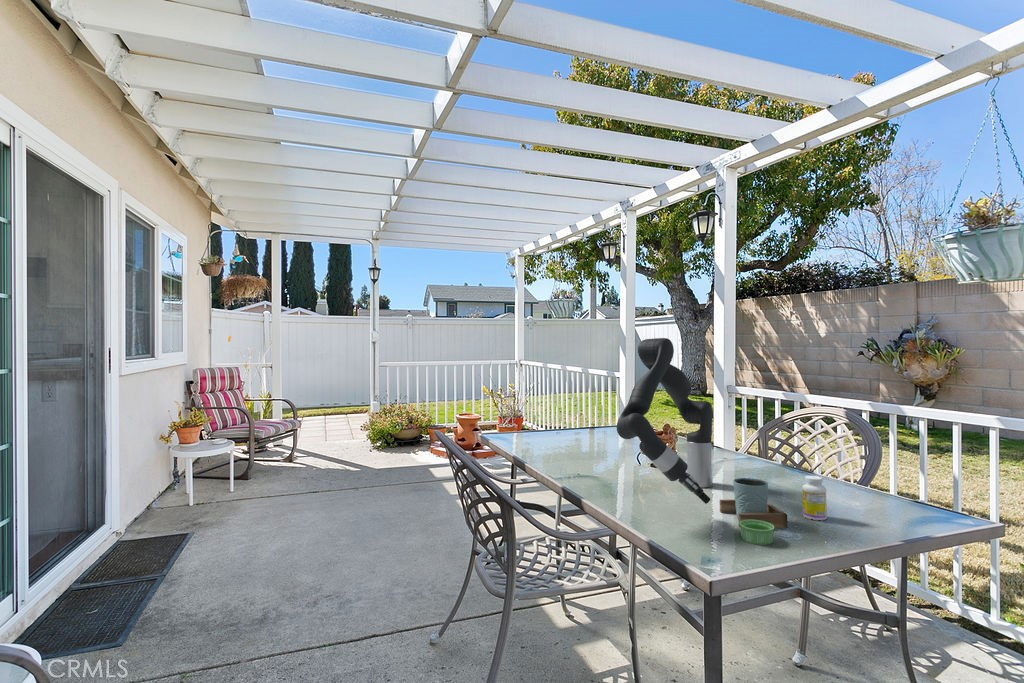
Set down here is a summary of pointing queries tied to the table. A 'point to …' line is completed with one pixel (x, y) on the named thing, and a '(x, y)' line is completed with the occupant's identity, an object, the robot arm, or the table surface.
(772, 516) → the brown piece
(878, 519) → the table surface
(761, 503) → the blue-grey plant pot
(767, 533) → the ramekin
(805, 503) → the supplement bottle
